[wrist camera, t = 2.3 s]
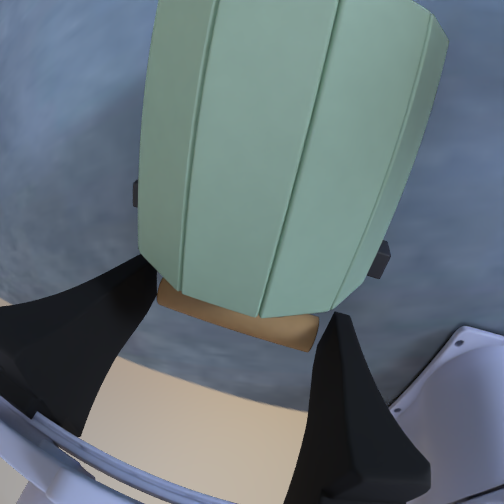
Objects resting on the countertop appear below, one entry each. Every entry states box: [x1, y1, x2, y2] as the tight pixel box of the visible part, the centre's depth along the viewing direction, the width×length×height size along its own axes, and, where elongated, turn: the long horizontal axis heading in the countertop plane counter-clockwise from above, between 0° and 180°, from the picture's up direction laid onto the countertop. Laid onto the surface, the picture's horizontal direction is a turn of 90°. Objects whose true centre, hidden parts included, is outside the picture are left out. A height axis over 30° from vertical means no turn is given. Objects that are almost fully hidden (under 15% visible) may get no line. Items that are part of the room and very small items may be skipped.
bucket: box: [133, 0, 449, 352], centre depth 9 cm, size 7×8×11 cm
